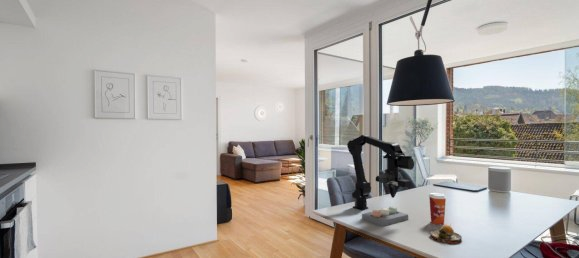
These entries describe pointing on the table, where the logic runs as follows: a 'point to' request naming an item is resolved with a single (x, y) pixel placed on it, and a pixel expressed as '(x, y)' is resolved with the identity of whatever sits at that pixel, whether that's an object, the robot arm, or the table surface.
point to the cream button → (384, 211)
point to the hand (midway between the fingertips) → (392, 197)
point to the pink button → (376, 214)
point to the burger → (446, 235)
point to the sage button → (393, 210)
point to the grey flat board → (385, 218)
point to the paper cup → (437, 208)
